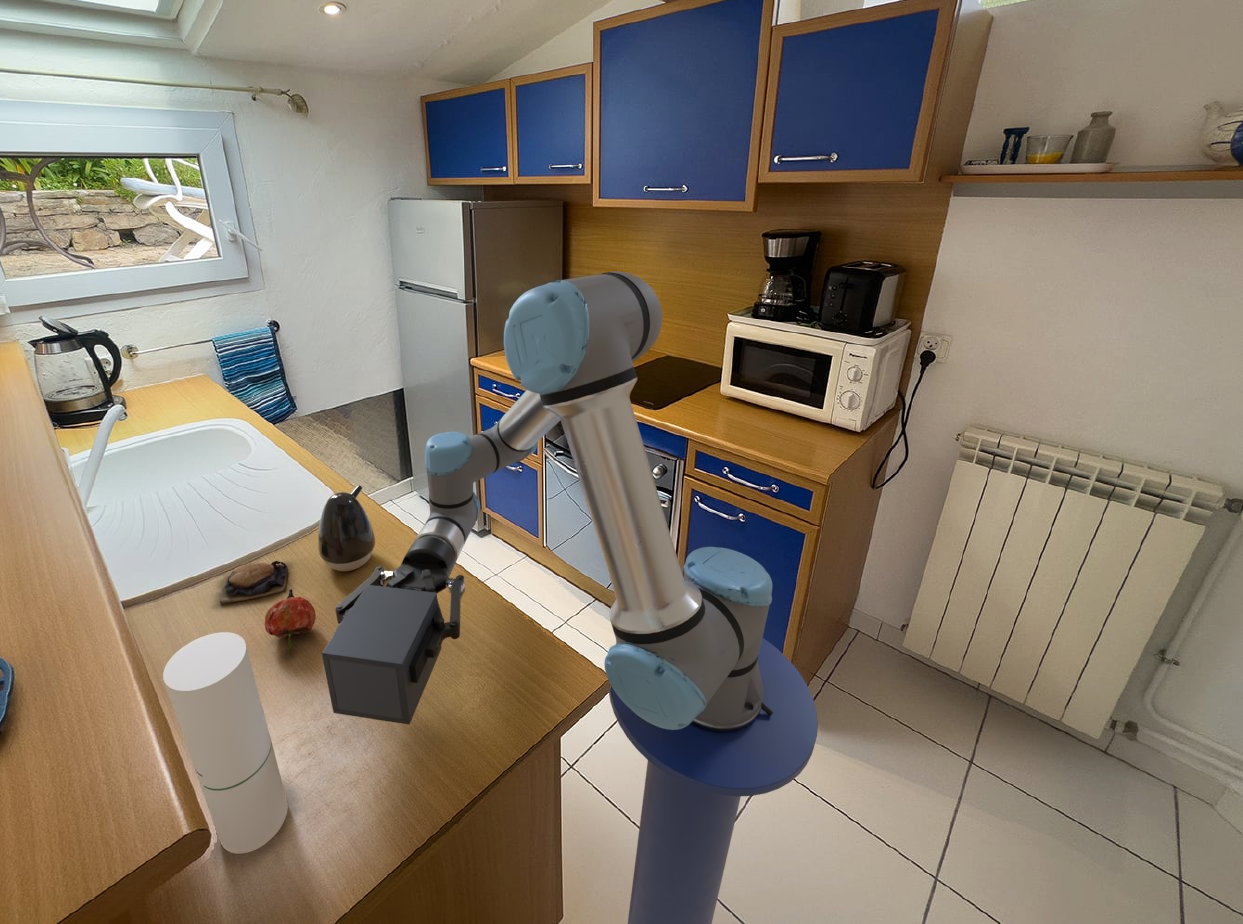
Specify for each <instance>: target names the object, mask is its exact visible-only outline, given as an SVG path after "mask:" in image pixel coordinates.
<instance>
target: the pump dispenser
mask: <svg viewBox="0 0 1243 924" xmlns="http://www.w3.org/2000/svg"><path fill="white" fill-rule="evenodd" d="M362 490H363V486H362V485H359V484H358V485H357V486H356V487H354V489H353V490H352V491H351V492H350V493H349V492H345V491H339V492H336V493H333V494H332V495H330V497H329V498H328V499H327V500H326V502H325V504H324V506H323V509H322V512H321V515H320V519H319V526H318V535H317V537H318V538H317V545H318V546H317V547H318V554H319V556H320V558H321V559H322V560H323V561H324V563H325V564H326V565H327V566H328V567H329V568H331V569H333V570H335V571H339V572H349V571H350V572H351V571H355V570H356V569H359V568H361V567H362V566H364V565H365V564H366V563H367V562H368V561H369V560H370V559H371V557H372V555H373V553H374V548H375V546H376V535H375V532H374V529H373V525H372V523H371V519H370V518H369V515H368V513H367V512H366V510H365V508H364V507H363V505H362V504H361V503H360V501H359V500H358V499H357V497H358V496H359V495H360V493H361V492H362Z"/></svg>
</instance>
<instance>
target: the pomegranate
mask: <svg viewBox="0 0 1243 924" xmlns="http://www.w3.org/2000/svg"><path fill="white" fill-rule="evenodd" d="M264 617H265V618H264V629H265V631H266V633H267V634H268V635H269V636H274V637H276V638H279V639H281V638H286V637H288V648H287V649H288V650H287V653H288V654H287V655H288V656H290V654H291V646H292V644H293V643H292V635H296V634H305V633H309V632H310V631H312V628H313V627H314V625H315V623H316V619H317V617H316V610H315V608H314V606H313V604H312V603H311V602H310V601H309V600H307V599H306V598H305V597H303V596H294V593H293V589H292V588H290V589H288V596H287V597H286V599H281V600H279V601H277V602H276V603H274V604H273V605H272V606H271V607H270V608H269V609H268V610H267V612H266V614H265V616H264Z"/></svg>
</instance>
